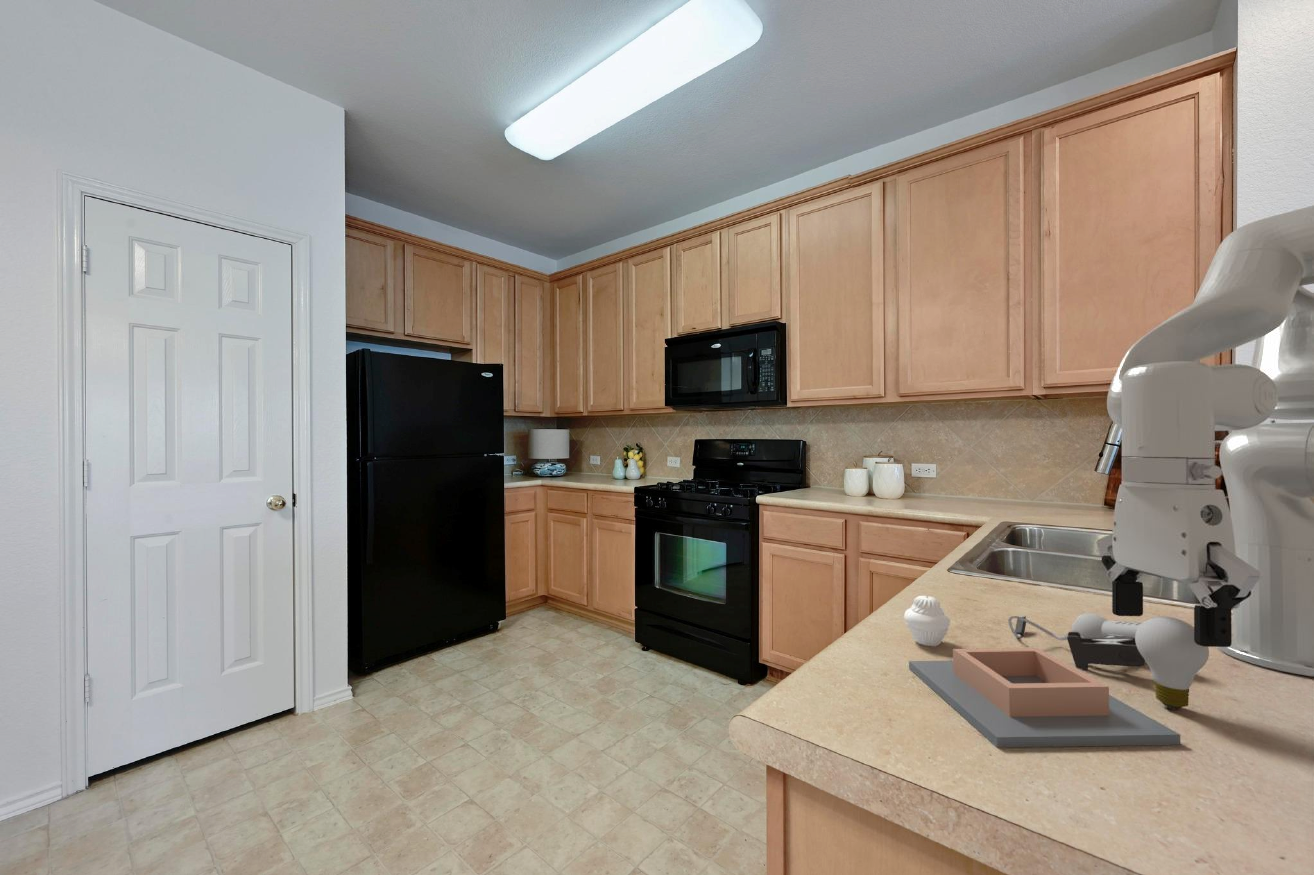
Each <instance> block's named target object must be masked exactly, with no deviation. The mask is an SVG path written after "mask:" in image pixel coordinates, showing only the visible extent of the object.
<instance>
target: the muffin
mask: <svg viewBox="0 0 1314 875" xmlns="http://www.w3.org/2000/svg"><path fill="white" fill-rule="evenodd" d="M903 616H904V621H905V622H906V624H905V625H906V626H907V628H908V630H909V632H910V633H911V636H912V639H914V641H915V643H917V644H919V645H922V646H927V647H936V646H937V647H938V646H940V644H941V642H942V641H943V639H944V638H945V636H946V635H947V633H948V631H949V627H950V625H951V619H950V617H949V616H948V614H946V613H945V612H944V609H943V608H942V607H941V603H940V601H939V600H938V599H936V598H935V597H933V596H928V595H927V594H926V595H919V596H917V597H915V598H914V599H913V603H912V605H911V606H910V607H909V608H908V609H906V610H905V612H904V615H903Z"/></svg>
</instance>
